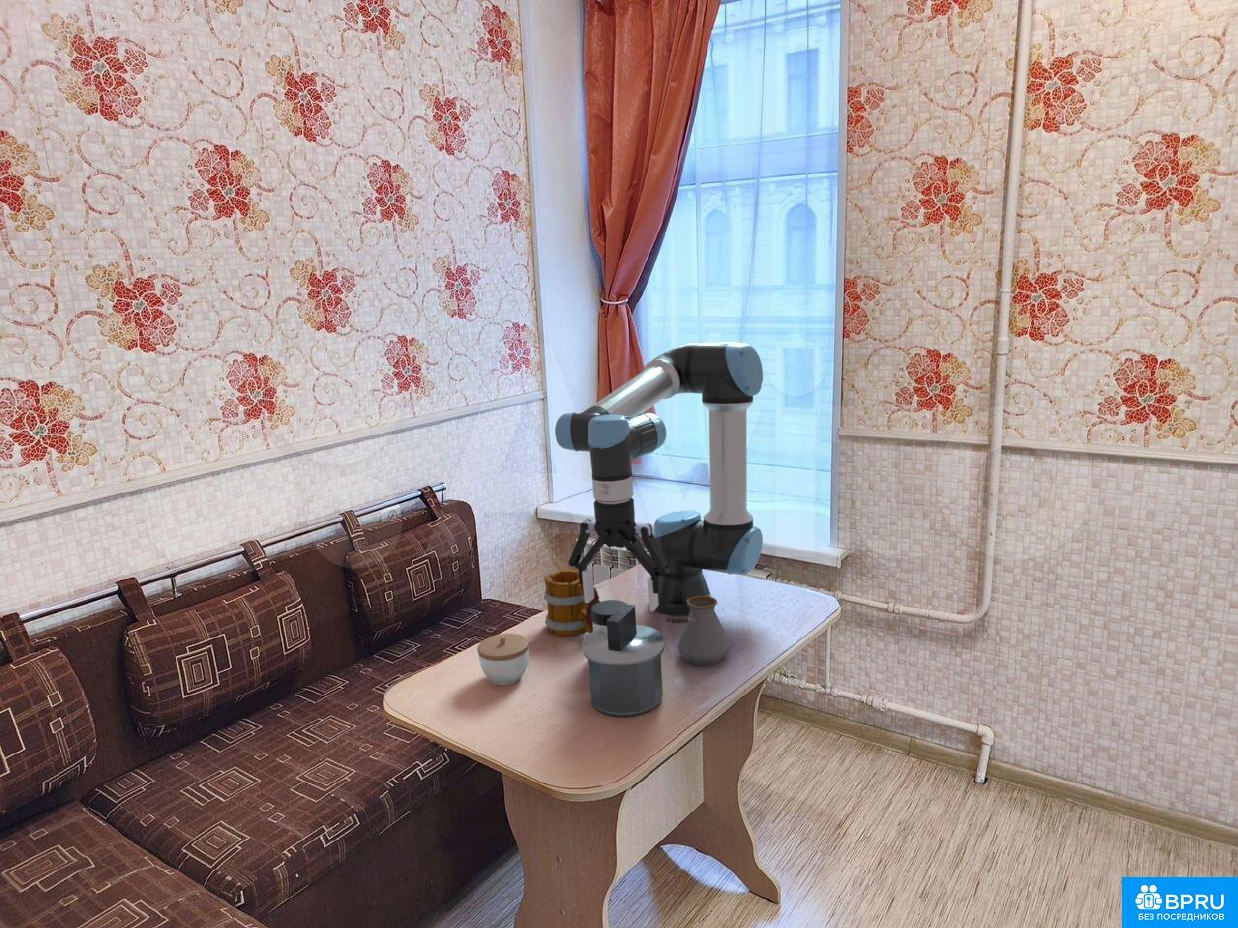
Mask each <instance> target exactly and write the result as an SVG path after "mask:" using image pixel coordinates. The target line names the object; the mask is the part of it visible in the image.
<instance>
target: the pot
mask: <svg viewBox="0 0 1238 928" xmlns="http://www.w3.org/2000/svg"><path fill="white" fill-rule="evenodd" d="M587 635H589V633H588V634H586V635H585V637H586V636H587ZM661 655H662V653H661V654H660V655H659V656H658V657H656V658H655V659H653V660H651V661H648V662H646V663H643V664H639V665H634V666H626V667H611V666H604V665H599V664H596V663H593V662H591V661H589V660H588V659H587V666H588V681H589V694H590V702H591V705H592V708H593V709H594V710H596V712H598V713H599V714H600V713H601V714H602V715H605V716H608V717H613V718H633V717H637V716H643V715H645V714H648V713H650V712H652V711H654V710H655V709H656V708H658V707H659V706H660V704H661V703H662V701H663V695H664V694H663V678H662V677H663V674H662V659H661V658H662V657H661Z"/></svg>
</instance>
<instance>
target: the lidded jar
mask: <svg viewBox="0 0 1238 928" xmlns="http://www.w3.org/2000/svg"><path fill="white" fill-rule="evenodd" d="M529 647H530V643H529V640H528V638H527V637H526V636H523V635H522V634H516V633H500V634H496V635H492V636H490V637H487V638H485V639H483V640H482V641H480V643H479V644H477V654H478V661H479V666H480V668H481V671H482V673H483V674H484V676H486V677H487V679H489V680H490V681H491V682H492V683H494V684H495V685H499V686H509V685H513V684H515V683H517V682H519V681H520V679H521V678H522V676H523V675H524V674H525V672H526V671H527V669H528V666H529V661H530V648H529Z"/></svg>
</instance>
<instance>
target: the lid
mask: <svg viewBox="0 0 1238 928" xmlns="http://www.w3.org/2000/svg"><path fill="white" fill-rule="evenodd" d="M588 634H589V633H588ZM588 634H586V635H587V636H586V635H585V637H584V638H583V640H582V643H581V651H582V655H583V656H584V657H585V659H587V661H588V660H589V661H591V662H593V663H596V664H599V665H604V666H611V667H626V666H634V665H639V664H643V663H646V662H648V661H651V660H653V659H655V658H656V657H658V656H659V655H660V654H661V655H662V653H663V651H664V650H665V638H664V635H663V634H662V633H661V632H660V631H658V630H657V629H655V628H652V627H650V626H646V625H642V624H637V617H636V605H633V604H631V605H630V604H627V605H625V604H623V605H622V606H621V607H620V608H619V609H618V610H617V611H616V612H615V613H614V614H613V615H612V616H611V617H610V618H609V619H608V620H607V627H604V628H601V629H598V630H596V631H594V632H592V633H590V634H589V635H588Z"/></svg>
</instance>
